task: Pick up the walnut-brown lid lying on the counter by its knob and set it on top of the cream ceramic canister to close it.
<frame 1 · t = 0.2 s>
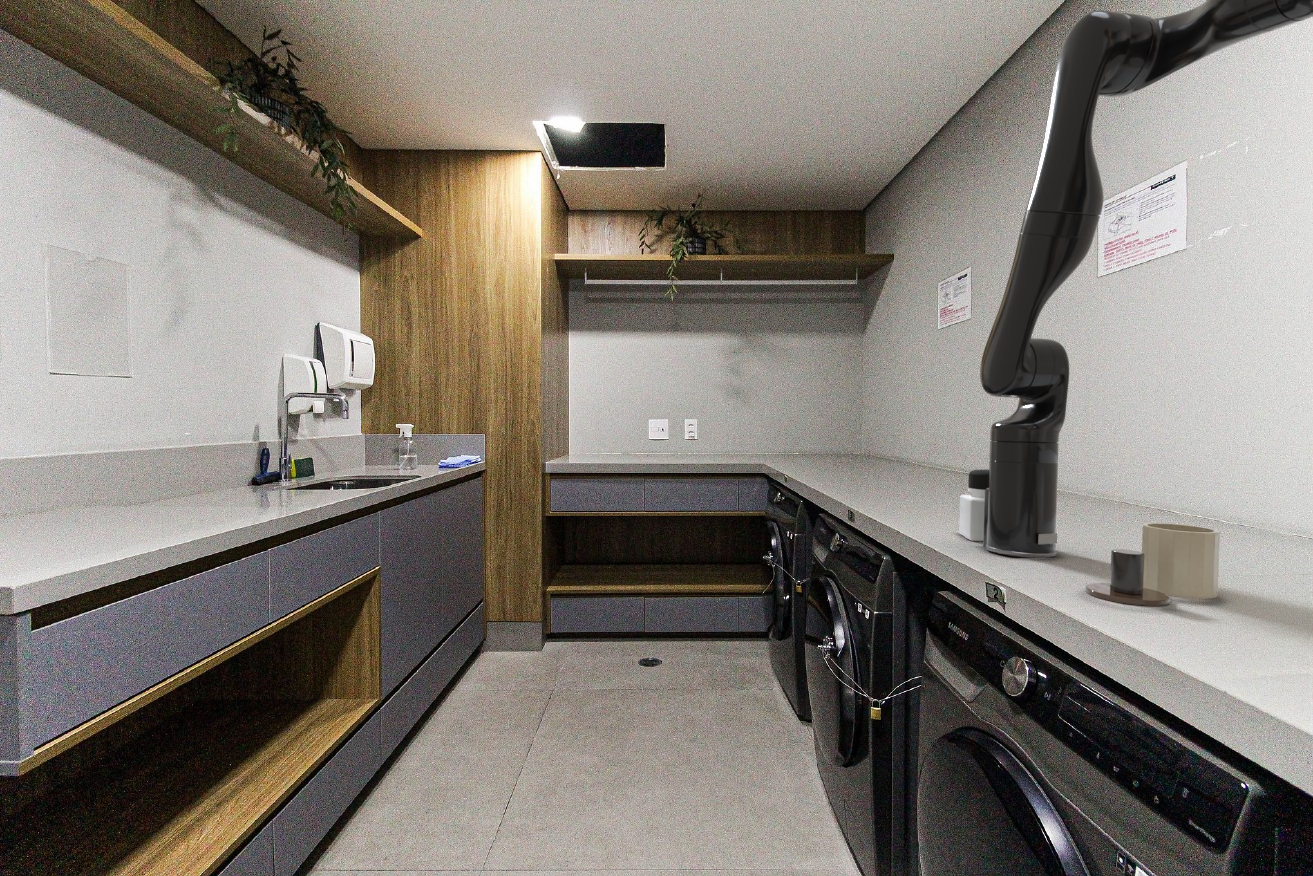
canister: (1177, 594, 75), on the countertop
lid: (1126, 596, 72), point 1 cm above the countertop
medicine bottle: (985, 539, 111), on the countertop
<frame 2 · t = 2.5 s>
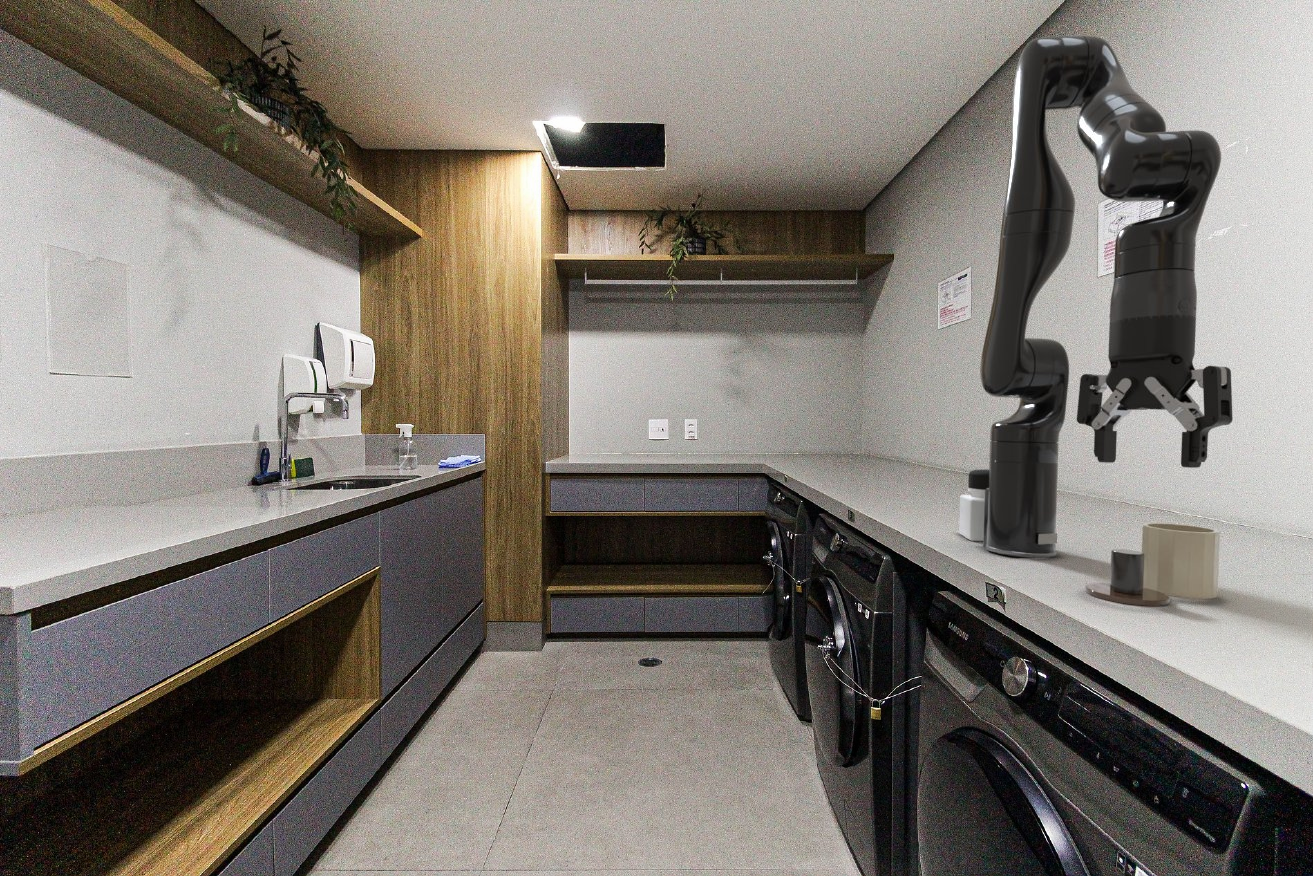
hand: (1146, 464, 70), 16 cm above the countertop, tool pointing down, fingers open, 8 cm apart
nothing on the countertop moved.
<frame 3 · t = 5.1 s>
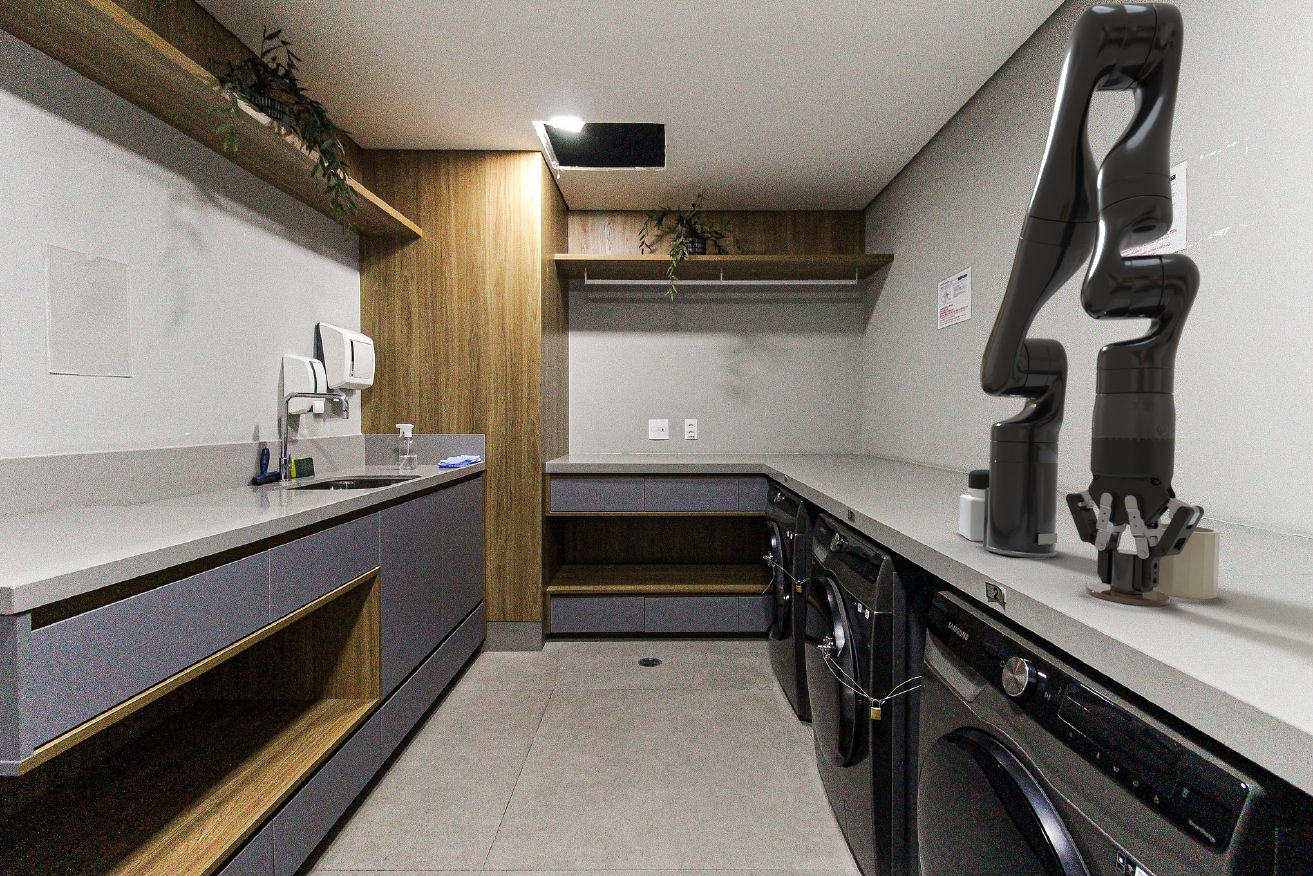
hand: (1126, 586, 72), 2 cm above the countertop, tool pointing down, fingers closed on lid, 3 cm apart
lid: (1126, 596, 72), point 1 cm above the countertop, touching gripper
everything else where it was.
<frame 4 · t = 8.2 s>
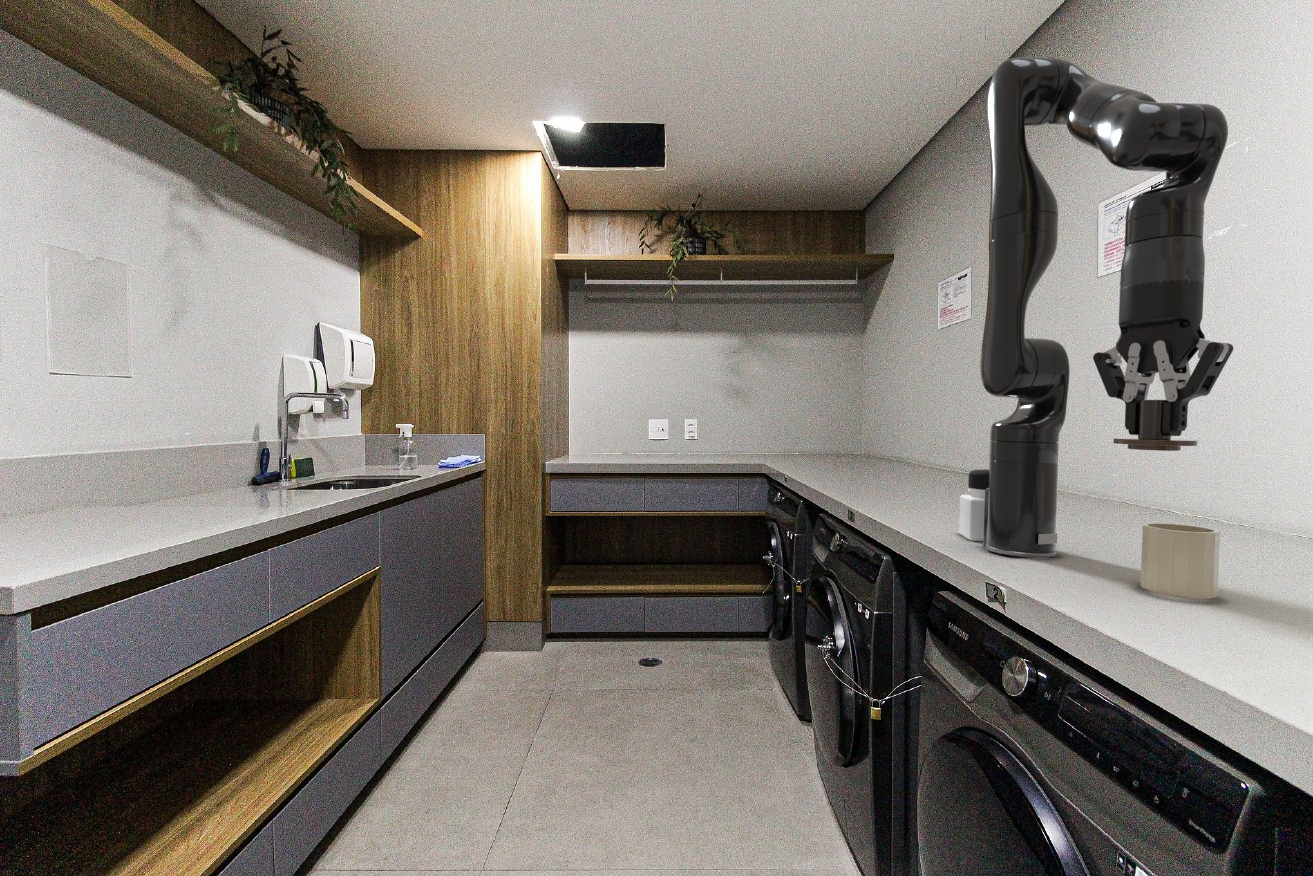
hand: (1154, 434, 73), 19 cm above the countertop, tool pointing down, fingers closed on lid, 3 cm apart
lid: (1153, 444, 73), point 18 cm above the countertop, touching gripper
everything else where it was.
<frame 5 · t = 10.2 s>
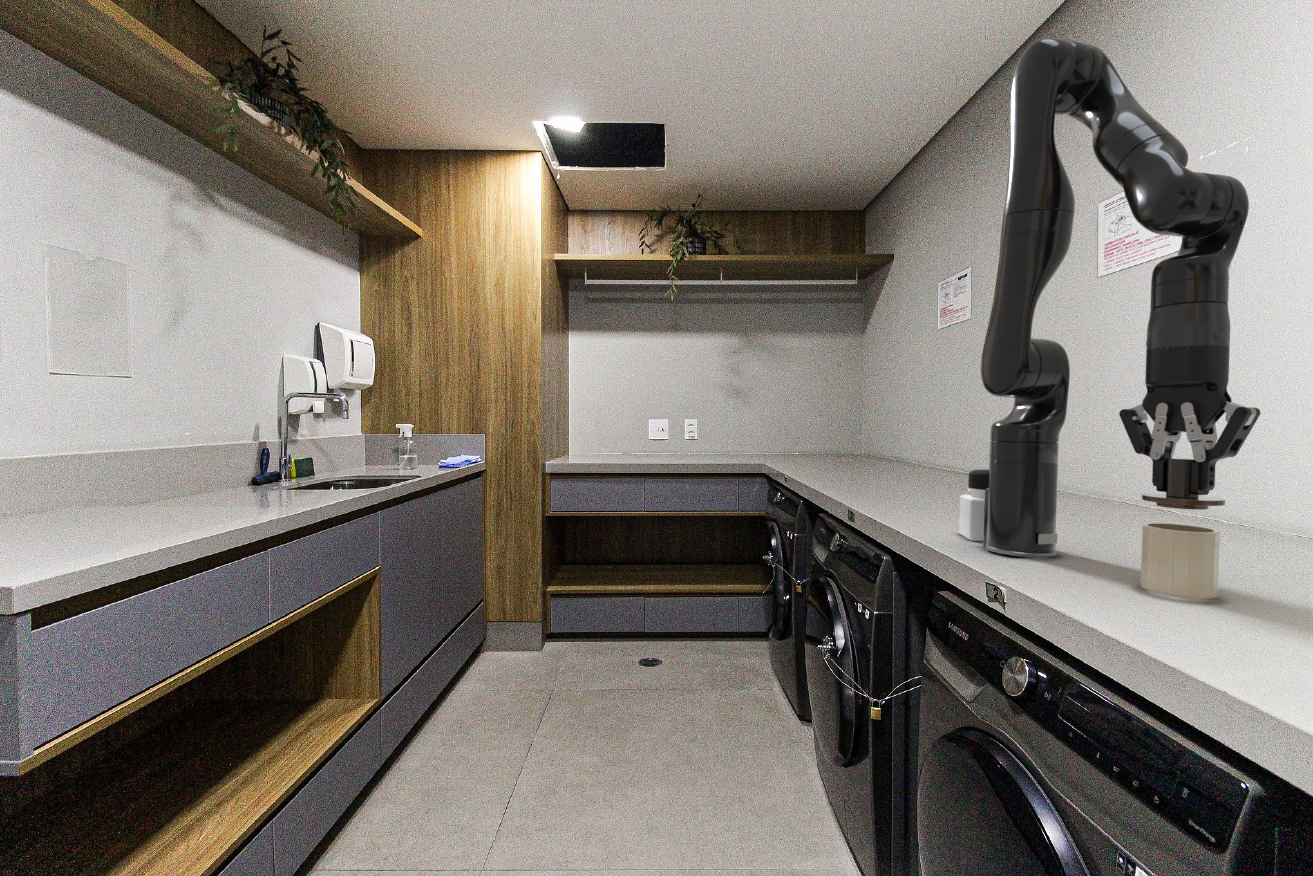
hand: (1181, 492, 75), 12 cm above the countertop, tool pointing down, fingers closed on lid, 3 cm apart
lid: (1181, 501, 75), point 11 cm above the countertop, touching gripper
everything else where it was.
when the fingers open (9 cm above the countertop, at t = 11.4 s): lid stays where it is, resting on canister.
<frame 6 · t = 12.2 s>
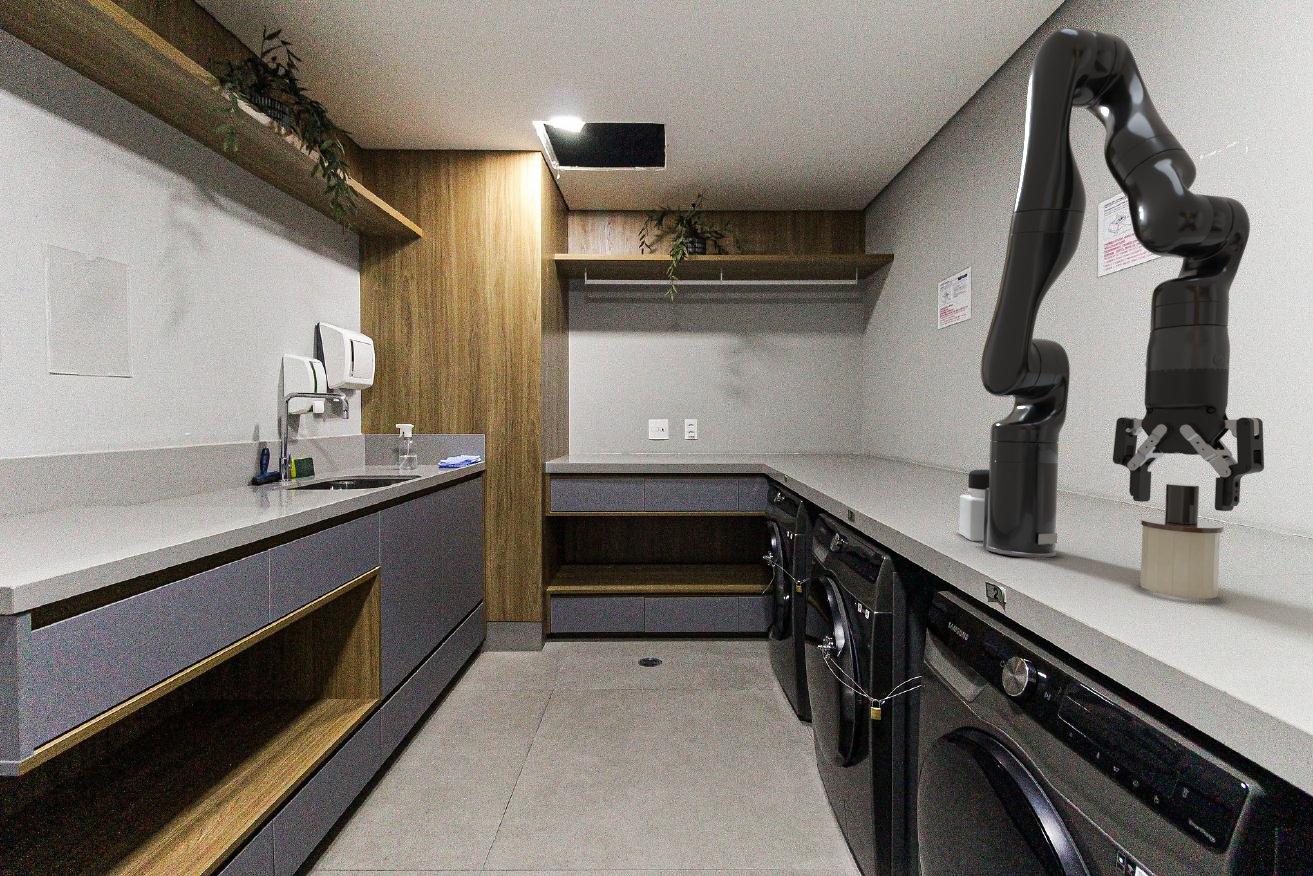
hand: (1180, 505, 75), 11 cm above the countertop, tool pointing down, fingers open, 8 cm apart
lid: (1180, 527, 75), point 8 cm above the countertop, touching canister
everything else where it was.
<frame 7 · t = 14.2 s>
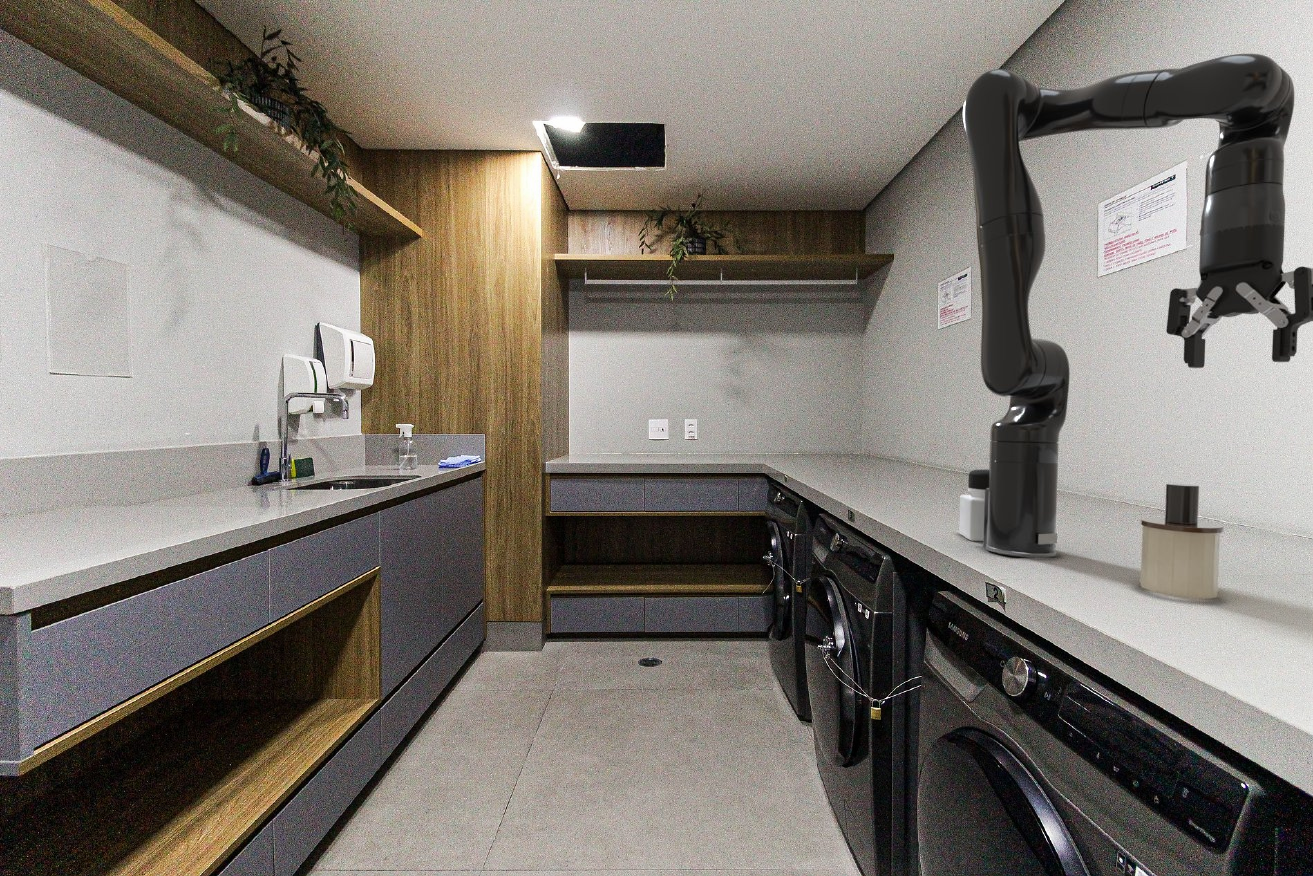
hand: (1236, 364, 77), 28 cm above the countertop, tool pointing down, fingers open, 8 cm apart
nothing on the countertop moved.
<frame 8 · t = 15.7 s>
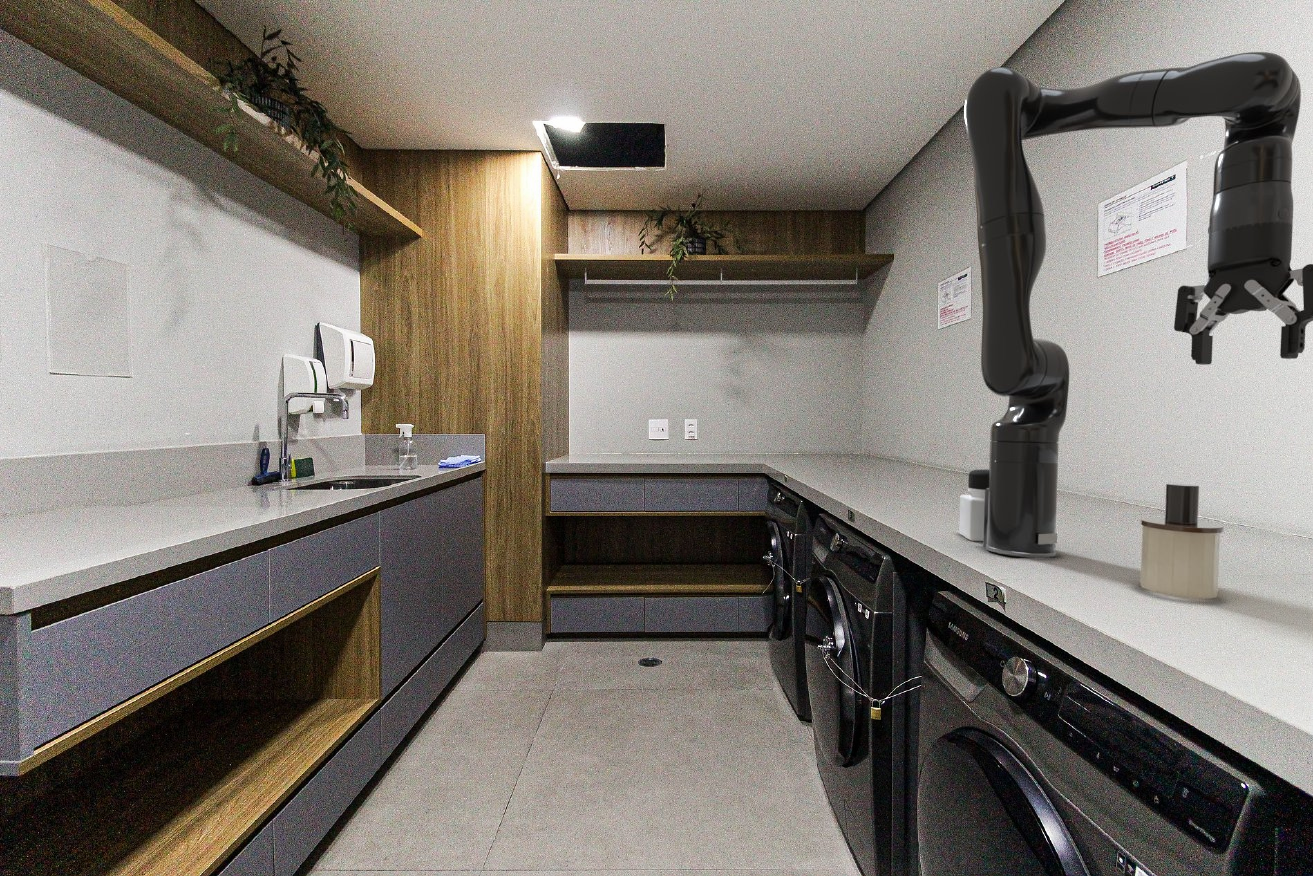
hand: (1243, 361, 78), 28 cm above the countertop, tool pointing down, fingers open, 8 cm apart
nothing on the countertop moved.
at the end: lid 0.1 cm off-centre on the canister, point 8.0 cm above the canister's base; lid tilted 0° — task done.
